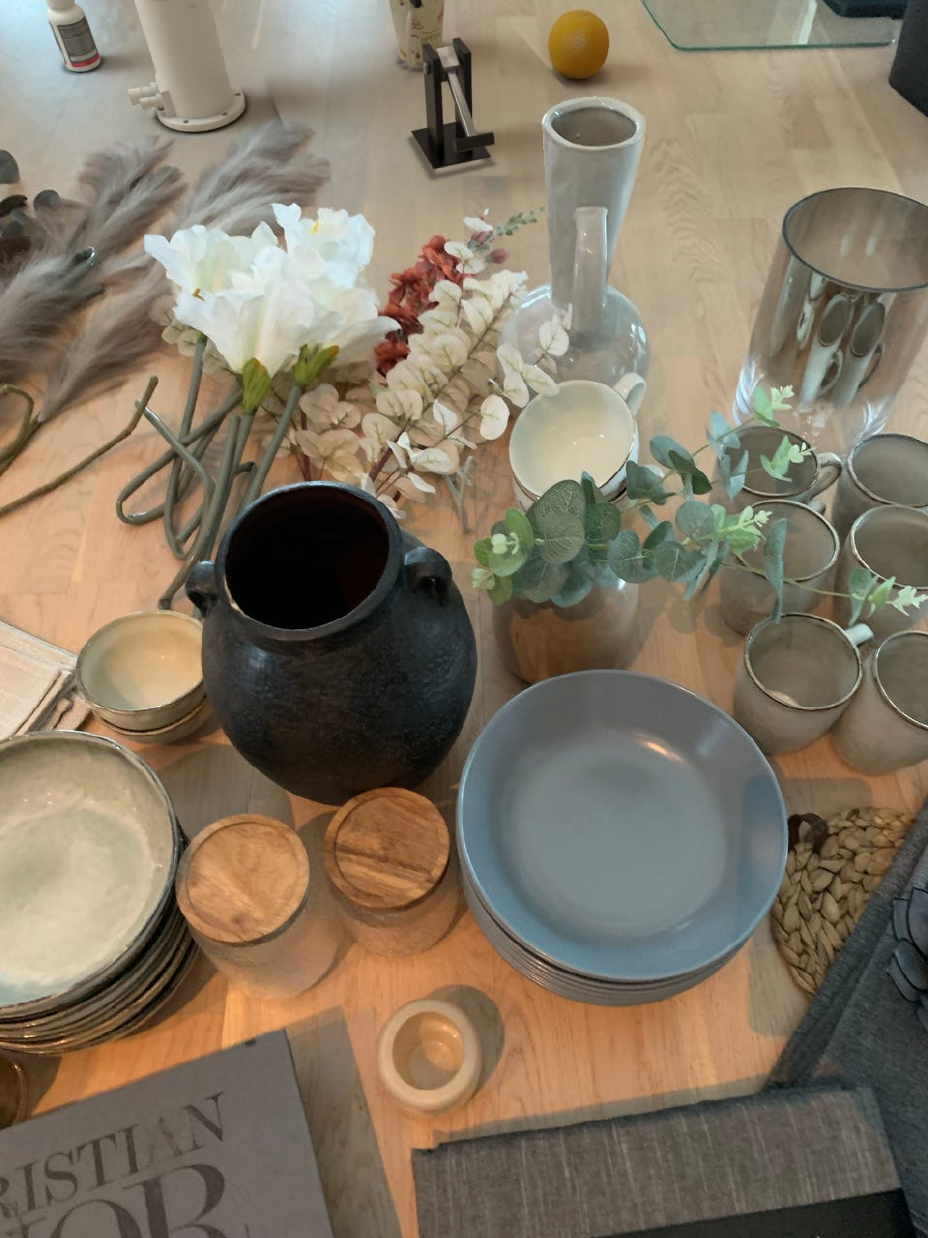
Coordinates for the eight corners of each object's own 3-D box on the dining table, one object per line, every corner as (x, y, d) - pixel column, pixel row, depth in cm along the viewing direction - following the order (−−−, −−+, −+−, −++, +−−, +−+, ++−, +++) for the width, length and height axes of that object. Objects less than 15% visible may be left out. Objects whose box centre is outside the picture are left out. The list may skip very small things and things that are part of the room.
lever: (493, 149, 108) (496, 136, 105) (455, 157, 107) (457, 144, 105) (461, 57, 109) (463, 42, 107) (424, 65, 108) (425, 50, 106)
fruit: (595, 57, 130) (600, -4, 123) (614, 82, 126) (620, 21, 119) (539, 66, 129) (542, 5, 122) (556, 92, 125) (560, 30, 118)
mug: (450, 48, 133) (448, -28, 124) (441, 89, 126) (438, 11, 118) (397, 47, 133) (391, -29, 125) (385, 87, 127) (378, 10, 118)
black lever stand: (490, 164, 115) (490, 60, 104) (434, 176, 113) (427, 72, 103) (466, 127, 120) (463, 24, 109) (411, 139, 119) (403, 36, 108)
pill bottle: (108, 59, 134) (83, -14, 126) (87, 75, 131) (60, 1, 123) (80, 53, 135) (53, -19, 127) (59, 69, 132) (30, -4, 124)
